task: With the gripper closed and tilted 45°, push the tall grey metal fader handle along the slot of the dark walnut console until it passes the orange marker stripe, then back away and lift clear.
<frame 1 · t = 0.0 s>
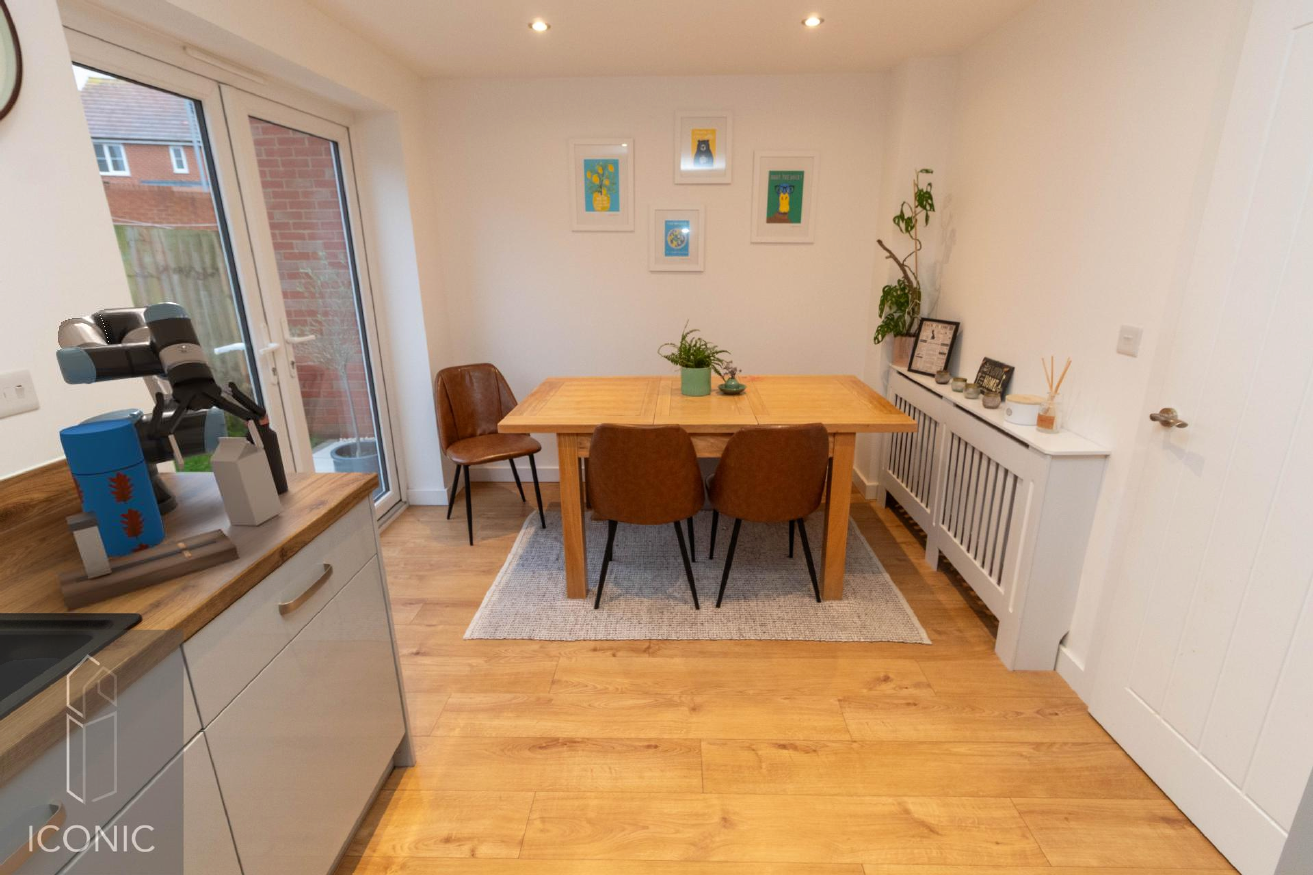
hand: (223, 458, 121), 16 cm above the counter, tool tilted 40°, fingers open, 13 cm apart
bottle: (272, 493, 147), on the counter
fader handle: (90, 544, 102), point 8 cm above the counter, slide at -7.0 cm
console: (154, 571, 109), on the counter
thermos: (132, 544, 120), on the counter
milk carton: (257, 519, 131), on the counter, touching gripper
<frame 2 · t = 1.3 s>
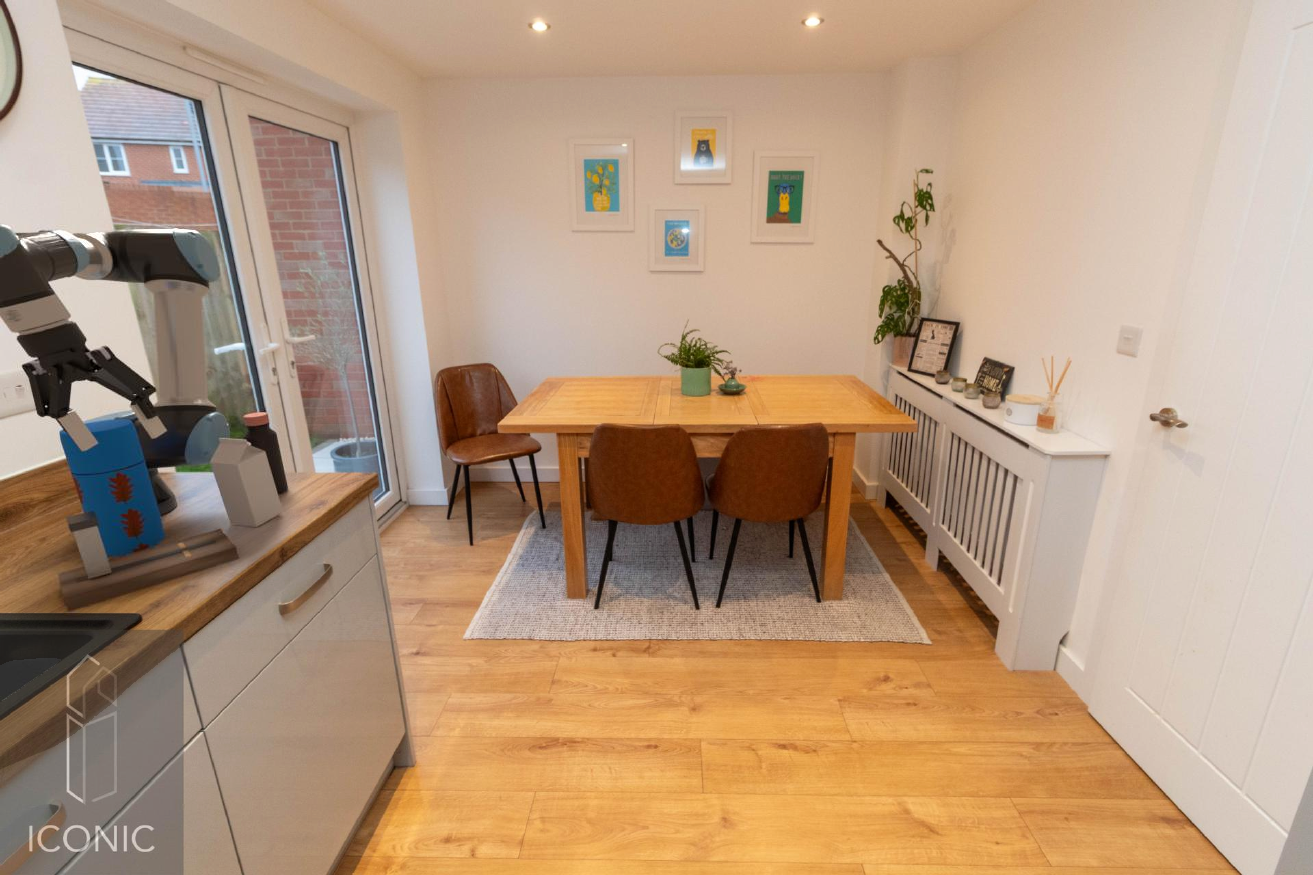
hand: (124, 441, 104), 25 cm above the counter, tool tilted 15°, fingers open, 13 cm apart
milk carton: (257, 519, 131), on the counter
everything else where it was.
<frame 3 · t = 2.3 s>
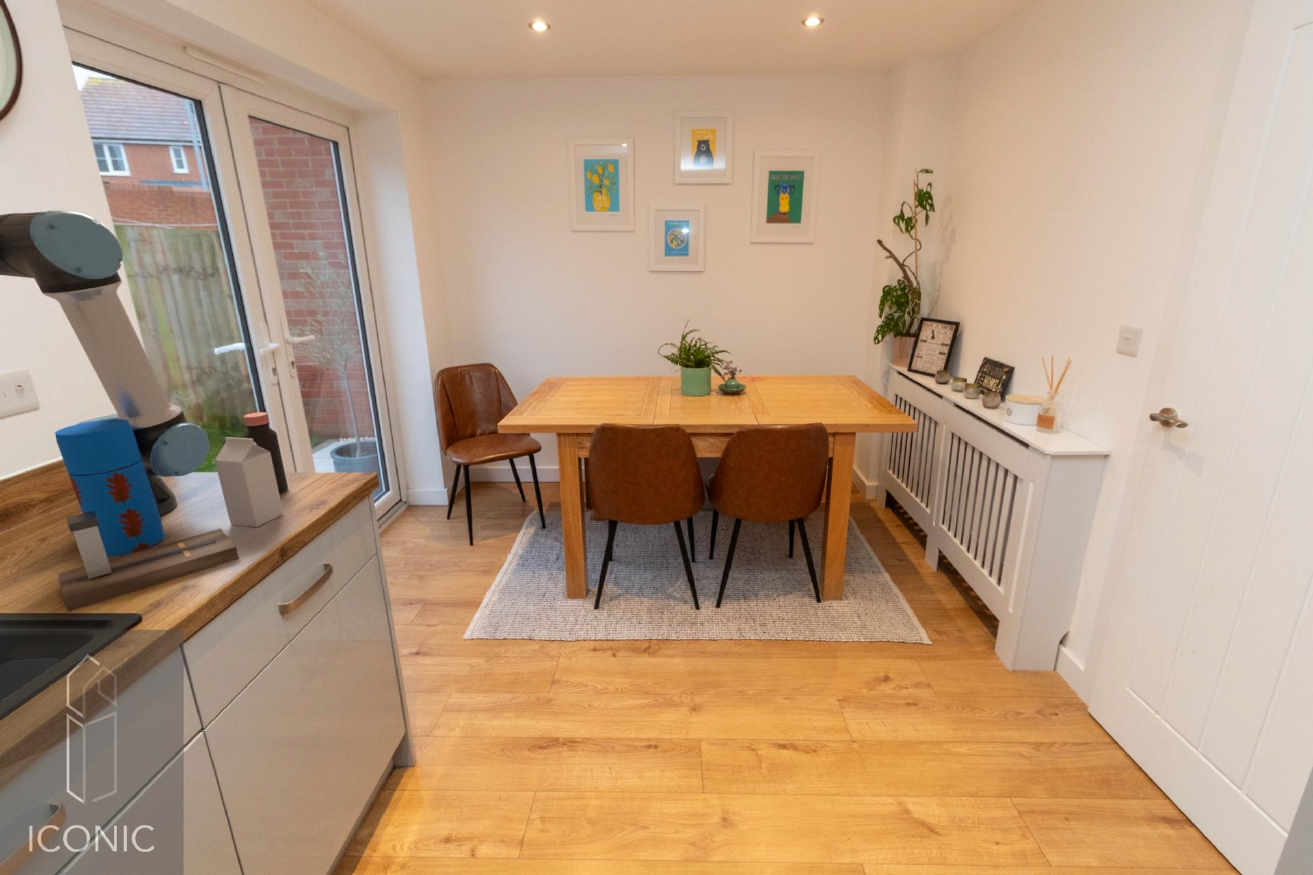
nothing on the counter moved.
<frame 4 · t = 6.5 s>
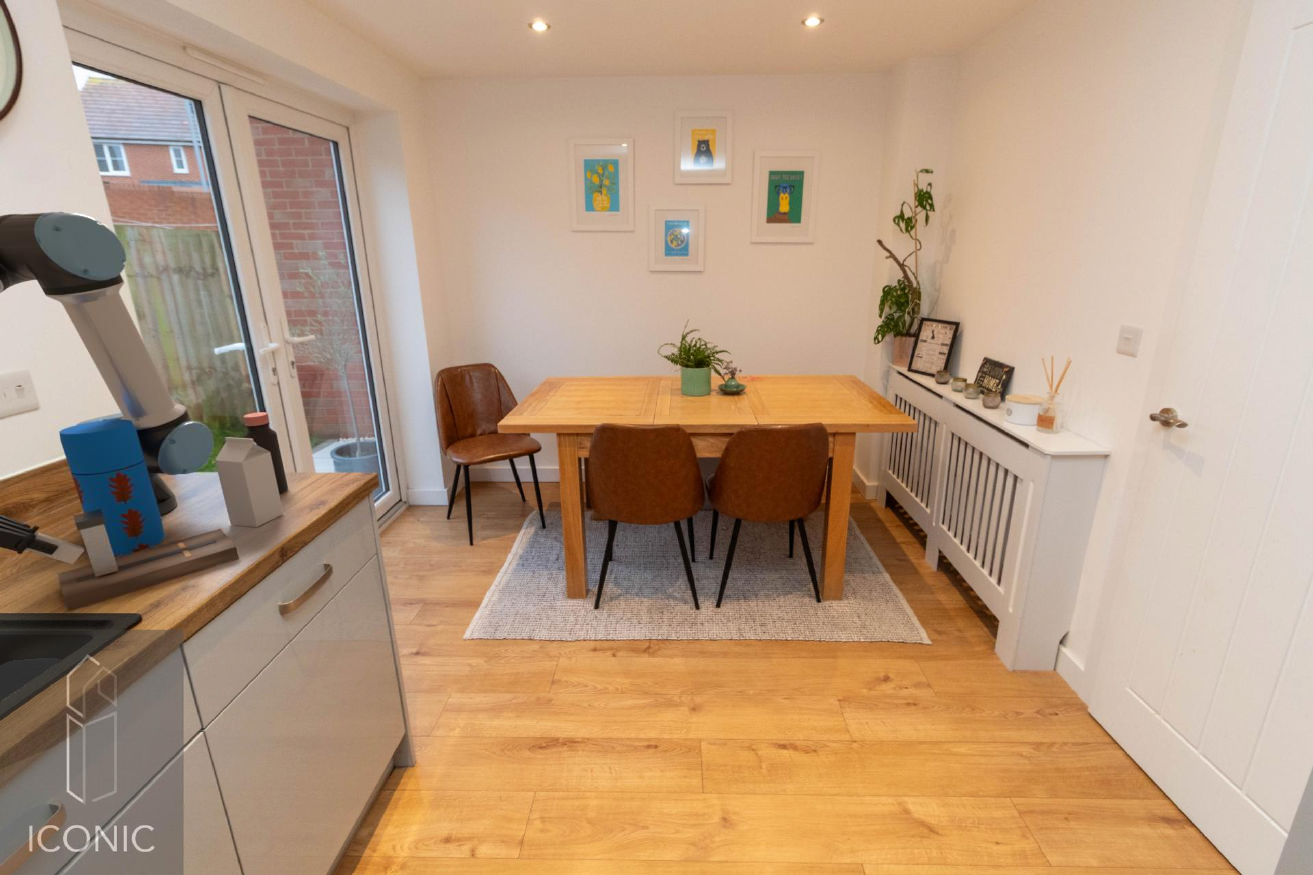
hand: (77, 555, 101), 7 cm above the counter, tool tilted 45°, fingers closed
fader handle: (97, 543, 103), point 8 cm above the counter, slide at -6.1 cm, touching gripper
everything else where it was.
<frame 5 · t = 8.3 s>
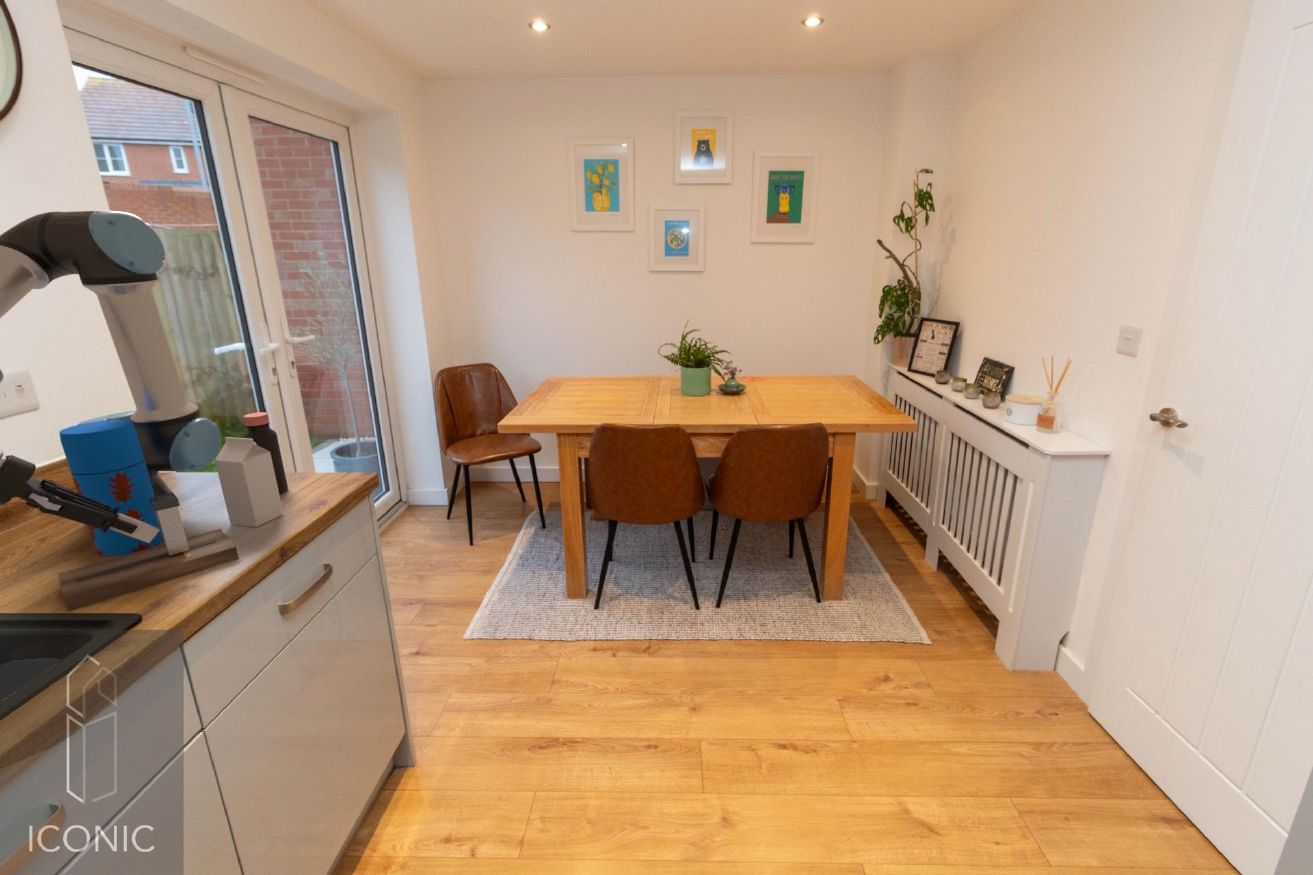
hand: (153, 535, 108), 7 cm above the counter, tool tilted 45°, fingers closed
fader handle: (170, 524, 110), point 8 cm above the counter, slide at 4.1 cm, touching gripper
everything else where it was.
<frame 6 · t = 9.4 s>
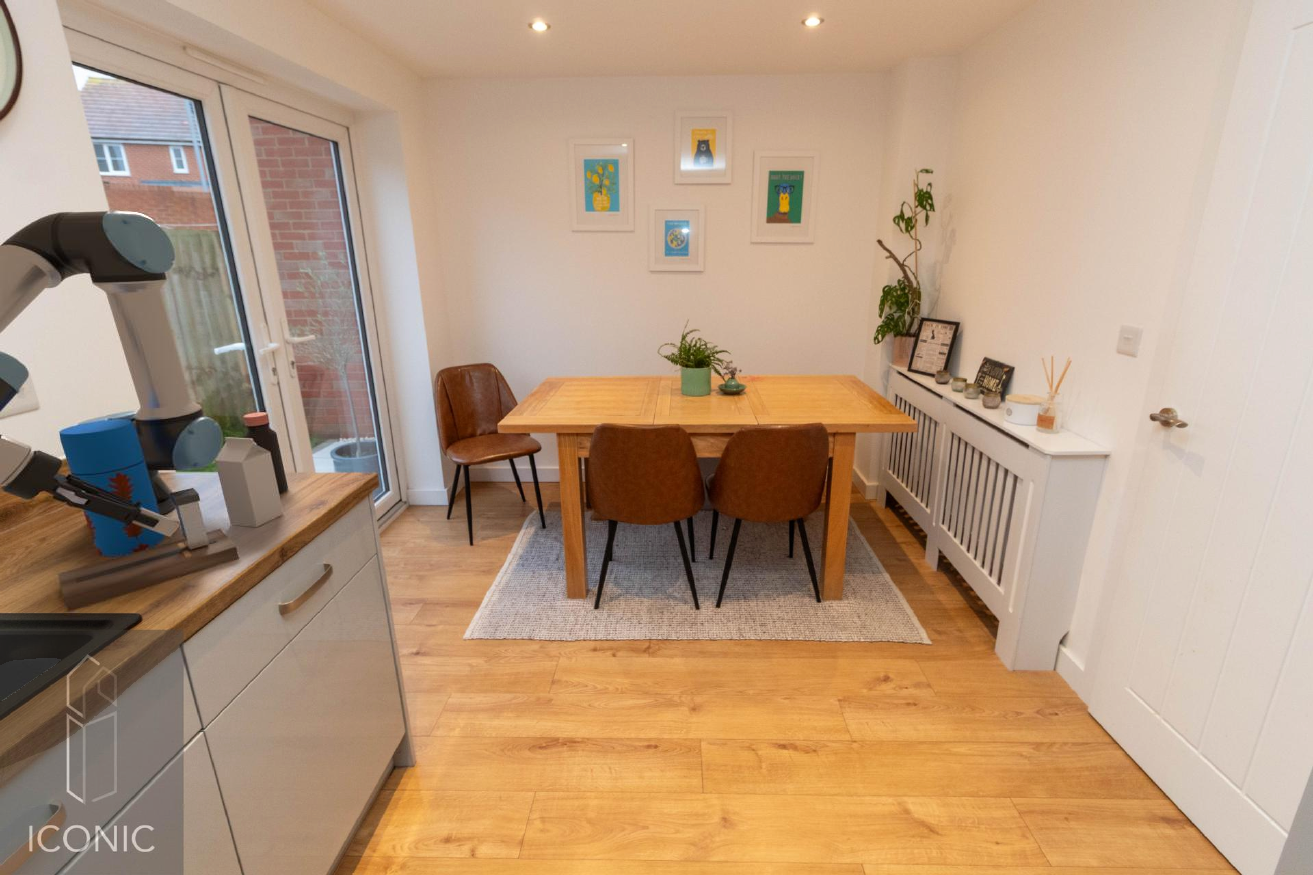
hand: (174, 529, 110), 7 cm above the counter, tool tilted 45°, fingers closed
fader handle: (190, 518, 112), point 8 cm above the counter, slide at 7.1 cm, touching gripper
everything else where it was.
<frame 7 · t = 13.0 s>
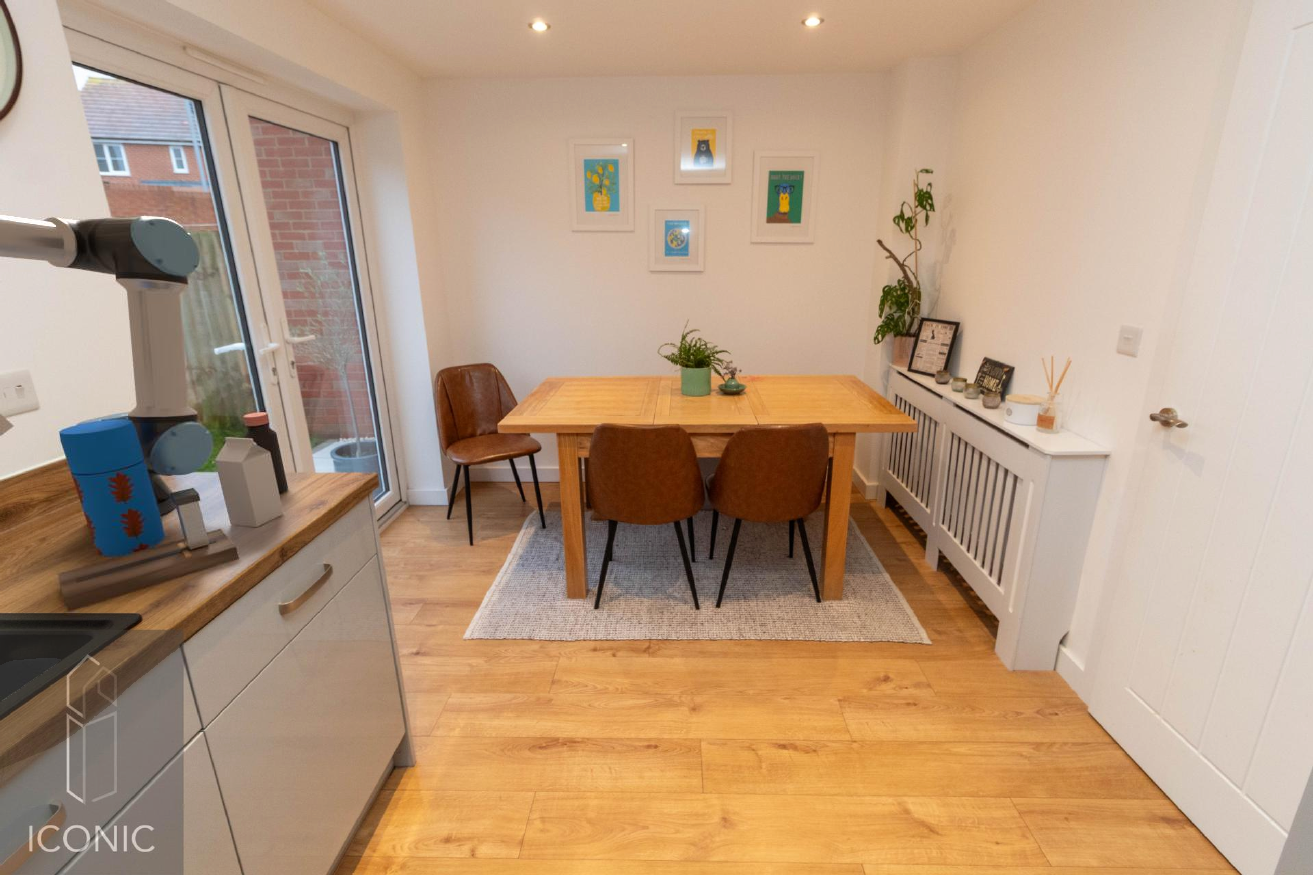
hand: (3, 431, 98), 28 cm above the counter, tool tilted 25°, fingers closed
fader handle: (190, 518, 112), point 8 cm above the counter, slide at 7.2 cm
everything else where it was.
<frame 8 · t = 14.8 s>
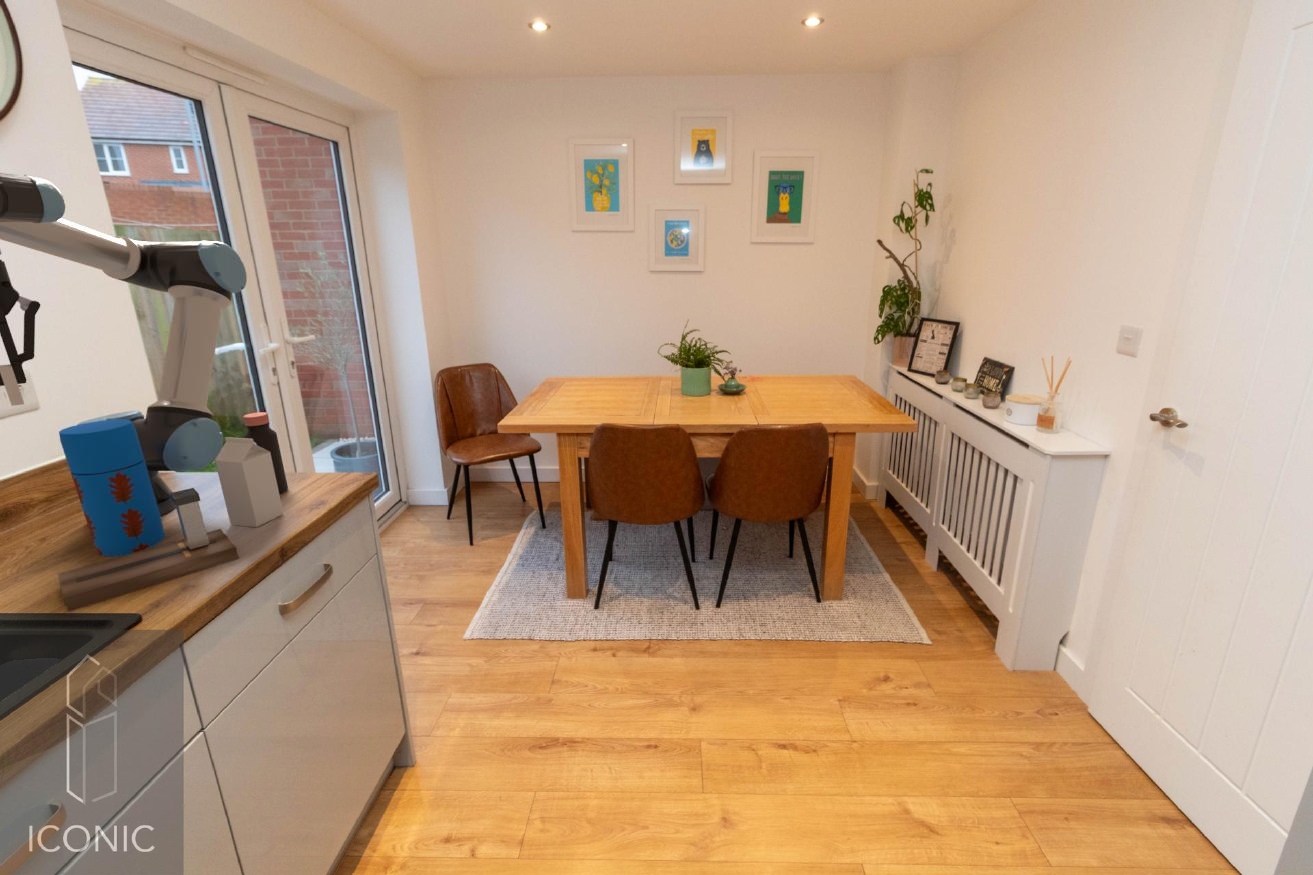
hand: (17, 403, 99), 32 cm above the counter, tool pointing down, fingers closed
nothing on the counter moved.
at the end: fader handle slide at 7.2 cm; the gripper is holding nothing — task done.
